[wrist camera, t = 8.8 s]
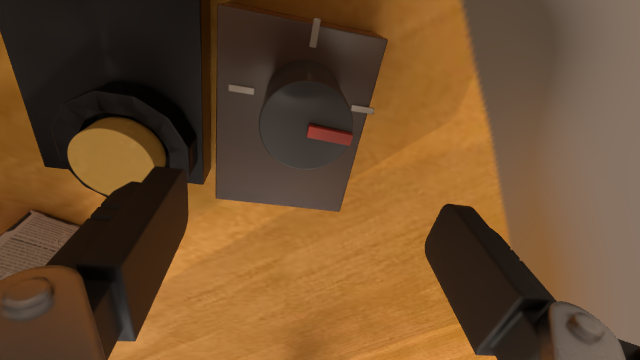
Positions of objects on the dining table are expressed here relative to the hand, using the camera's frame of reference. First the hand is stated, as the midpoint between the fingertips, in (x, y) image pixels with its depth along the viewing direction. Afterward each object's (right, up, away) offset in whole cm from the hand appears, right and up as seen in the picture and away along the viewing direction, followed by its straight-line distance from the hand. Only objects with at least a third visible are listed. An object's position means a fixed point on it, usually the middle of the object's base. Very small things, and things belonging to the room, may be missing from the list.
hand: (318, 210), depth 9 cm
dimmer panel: (-2, +6, +12) cm, 13 cm away
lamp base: (-12, +9, +9) cm, 17 cm away
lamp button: (-11, +3, +9) cm, 15 cm away
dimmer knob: (-1, +6, +8) cm, 10 cm away
